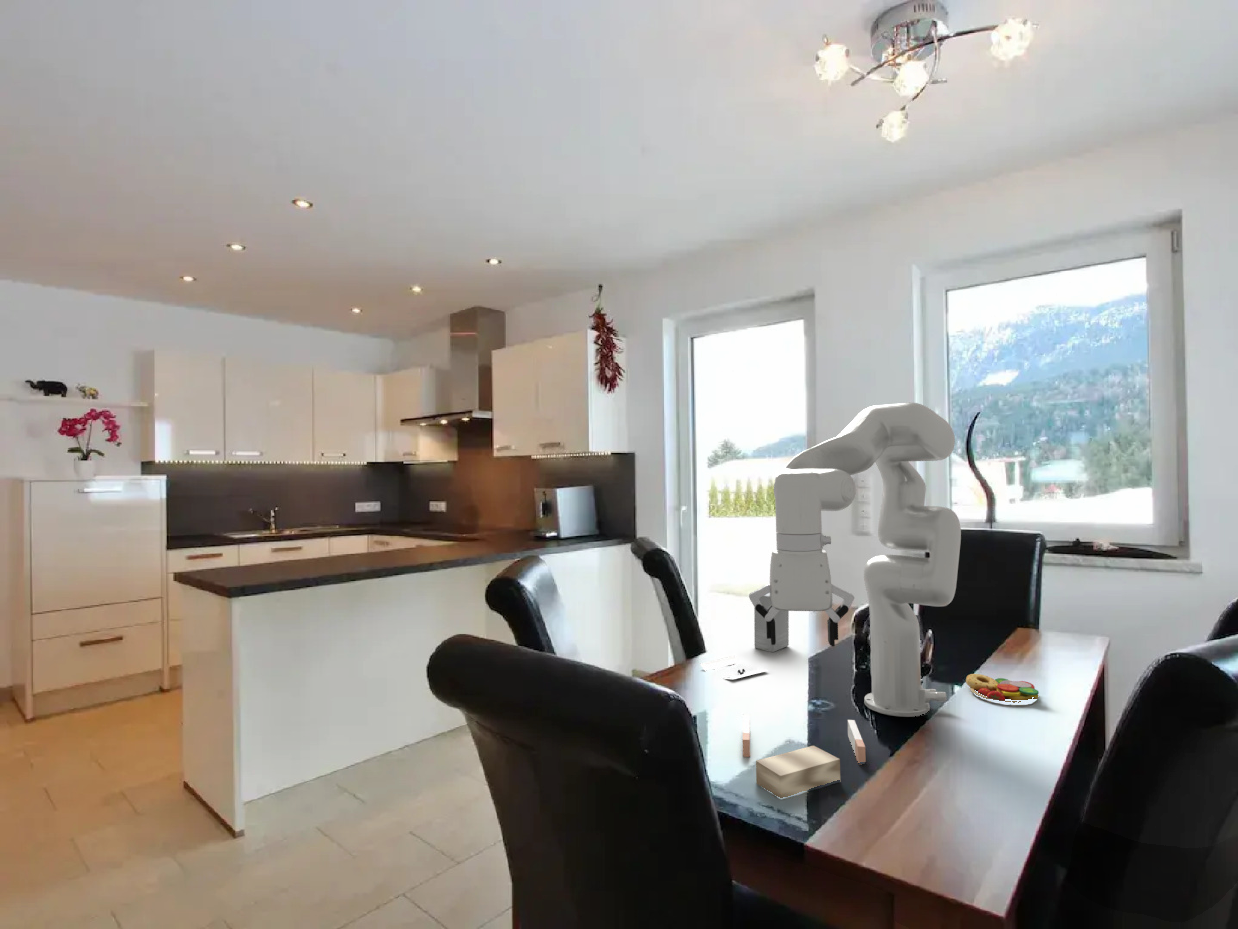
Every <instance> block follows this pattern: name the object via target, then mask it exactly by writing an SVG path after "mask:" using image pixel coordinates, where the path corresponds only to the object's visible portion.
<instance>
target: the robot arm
mask: <svg viewBox="0 0 1238 929" xmlns="http://www.w3.org/2000/svg"><path fill="white" fill-rule="evenodd" d="M955 441H956V438H955V432H954V431H953V428H952V426H951V424H950V423H949V422H948V421H947V420H946V419H945V418H943V417H942V416H941V415H940V414H938V413H936V412H935V411H934V410H932V409H931V408H929V407H928V406H926V405H924V404H921V403H918V402H902V403H901V402H900V403H890V404H889V403H888V404H878V405H872V406H868V407H867V408H864V409H863V410H861V411H860V412H859V413H858V414H857V415H856V416H855V417H854V418H853V420H852V421H850V423H849V424H848V425H847V426H846V427H845V428H844V429H843V430H842V431H841V432H840V433H839V434H838V435H837V436H836V437H833V438H830V439H828V440H825V441H823V442H821V443H819V444H817V445H815V446H814V445H813V446H812V447H810V448H808V449H805V450H803V451H802V452H800V453H798V454H796V455H795V456H793V458H792V459H790V461H789V462H787V464H785V465H784V467H783V468H781V470H780V471H779V473H778V474H777V475H776V476H775V478H774V482H773V483H774V484H773V496H774V500H775V502H774V503H775V506H774V507H775V532H776V533H775V535H776V537H775V538H776V549H774V550H772V553H771V557H770V564H769V566H770V567H769V583H767V584H766V585H764V586H762V587H759V588H757V589H756V590H754V591H751V592H750V593H749V595H748V598H749V600H750V602H751V604H752V605H753V608H754V607H755V609H756V611H757V612H758V613H759V614H760V615H761V616H762V617H763V618H765V620H766V629H767V639H771V645H775V644H776V636H775V619H774V616H775V615H776V614H777V613H778V612H779V610H782V611H789V612H790V611H791V612H824V613H826V615H827V616H828V619H826V620H827V642H828V644H829V646H831V647H835V646H836V645H835V644H836V642H835V641H838V640H839V622H840V620H841V619H842V618H843V617H844V616H845V615H846V614H848V612H849V610H850V608H851V605H852V604H853V602H854V600H855V596H854V595H853V593H851V592H849V591H847V590H844V589H842V588H840V586H839V587H838V585H834V584H832V576H831V570H830V563H829V557H828V553H827V551H826V550H825V549H824V548H823V547H825V546H826V545H831V544H832V538H831V536H830V535H829V536H827V535H825V534H823V533H822V530H823V528H822V512H838V511H842V510H845V509H847V508H848V507H849V506H850V505H851V504H852V503H853V501H854V499H855V498H856V493H857V489H856V488H857V487H856V483H855V480H854V478H853V477H852V476H854V475H856V474H857V475H858V474H861V473H863V472H865V471H867V470H869V469H870V468H872V466H873V465H875V463H876V467H877V469H878V471H879V473H880V476H881V478H882V495H881V503H880V509H879V510H880V511H879V518H878V526H877V527H878V529H877V535H878V540H879V543H880V544H881V545H882V546H884V547H886V548H887V549H891V550H898V551H905V552H906V551H908V552H923V553H929V557H923V556H922V557H920V556H912V555H900V554H880V555H879V554H878V555H876V556H873V557H872V558H870V559H869V560H868V561H867V562H866V563H865V566H864V570H863V578H864V586H865V590H866V595H867V599H868V600H867V601H868V606H869V607H868V608H869V625H870V627H869V628H870V629H869V630H870V665H871V666H870V668H871V669H870V671H871V672H870V673H871V674H870V675H871V692H870V693H867V694H865V696H864V699H863V700H864V702H863V703H864V705H865V706H866V708H868V709H869V710H872V711H874V712H877V713H879V714H883V715H887V716H893V717H900V718H902V717H903V718H910V717H911V718H916V717H920V715H921V716H923V715H922V714H924V715H926V714H925V713H927V712H928V711H929V712H930V703H931V701H932V702H943V703H944V702H945V703H946V702H947V699H948V696H947V693H946V692H945V691H937V689H935V688H924V687H923V685H922V680H921V678H922V677H921V642H920V641H921V640H920V638H921V637H920V635H921V632H920V623H919V620H918V617H917V615H916V613H915V612H914V609H913V608H912V607H911V606H910V604H915V605H921V606H927V607H928V606H930V607H937V608H938V607H947V606H948V605H949V604H950V603H952V601H953V599H954V597H955V594H956V591H957V590H956V589H957V583H958V582H957V581H958V570H959V562H960V550H961V540H962V536H961V535H962V529H961V523H960V520H959V517H958V514H957V513H956V512H955V511H954V510H952V509H950V508H948V507H946V506H933V505H925V500H926V491H927V485H926V483H925V480H924V479H923V477H922V476H921V474H920V472H918V470H917V469H916V468H915V467H914V466H913V465H912V464H911V463H910V462H934V461H935V462H938V461H943V460H946V459H947V458H948V457H950V456H951V454H952V453H953V451H954V448H955V444H956V443H955ZM768 593H770V601H771V606H770V607H769V608H768V609H766V608H765V607H764V606H763V605H762V604H761V603H760V601H759V598H760V597H762V596H764V595H766V594H768ZM833 595H836V596H837V597H839V598H842V602H841V603H840V605H839V606H838V607H837V608H836V609H834V608H833ZM929 712H928V713H929ZM928 713H927V714H928ZM915 716H916V717H915Z"/></svg>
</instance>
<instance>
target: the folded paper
mask: <svg viewBox="0 0 1238 929" xmlns="http://www.w3.org/2000/svg"><path fill="white" fill-rule="evenodd" d="M735 662H740V660H739V659H738V658H737V656H735V655H733V656H729V657H724V658H721V659H715V660H711V661H710V660H709V661H706V662H702V663H699V664H700V666H701V667H702V668H703V670H704V671H705V672H707V671H706V670H710V669H715V670H718V669H717V668H719V669H721V668H720V667H723V666H725V665H729V664H731V663H735ZM764 672H769V670H768V669H755V670H752V671H748V672H746V670H745V668H742V671H741V669H738V670H737V675H739V674H740V676H735V675H733V676H734V677H731V676H729V677H730V678H727V677H724V679H723V680H737V679H740V678H741V679H742V678H744V677H748V676H751V675H757V674H760V673H764Z"/></svg>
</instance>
